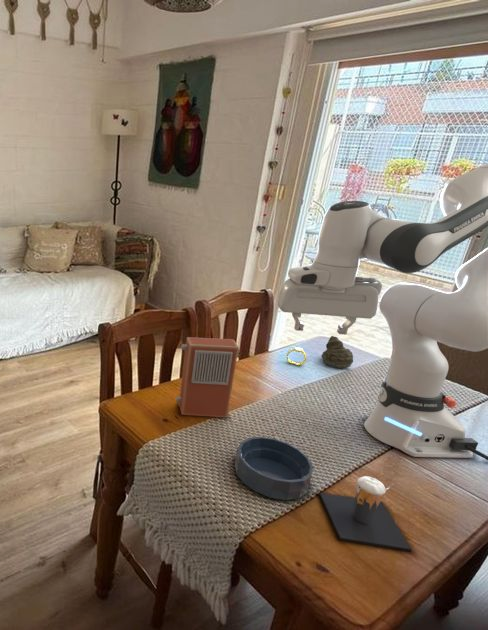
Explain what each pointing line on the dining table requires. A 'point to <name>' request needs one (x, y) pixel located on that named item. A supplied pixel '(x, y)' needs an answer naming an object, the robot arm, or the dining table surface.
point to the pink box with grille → (207, 376)
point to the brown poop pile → (337, 354)
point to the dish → (273, 468)
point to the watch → (297, 351)
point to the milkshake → (367, 498)
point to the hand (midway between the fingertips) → (319, 331)
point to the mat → (374, 533)
